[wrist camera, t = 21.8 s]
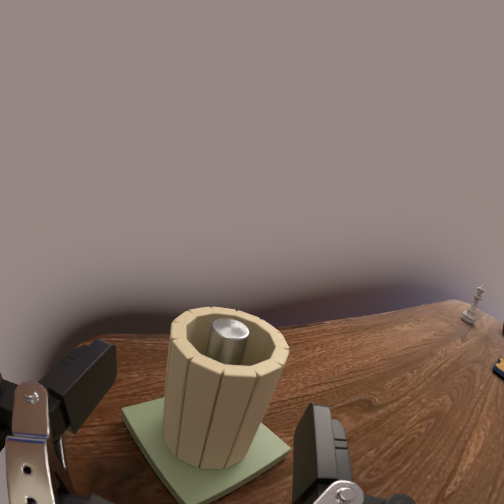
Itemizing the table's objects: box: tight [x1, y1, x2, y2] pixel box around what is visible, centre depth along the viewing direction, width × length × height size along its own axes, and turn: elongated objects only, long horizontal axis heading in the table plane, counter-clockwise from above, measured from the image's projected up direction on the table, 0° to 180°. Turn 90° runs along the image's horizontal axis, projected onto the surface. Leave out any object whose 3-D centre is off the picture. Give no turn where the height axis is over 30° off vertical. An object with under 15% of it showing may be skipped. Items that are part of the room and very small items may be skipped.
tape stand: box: [121, 318, 291, 504], centre depth 16 cm, size 9×9×11 cm
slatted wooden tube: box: [163, 307, 289, 469], centre depth 16 cm, size 6×6×9 cm
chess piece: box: [461, 286, 485, 325], centre depth 54 cm, size 4×4×10 cm
